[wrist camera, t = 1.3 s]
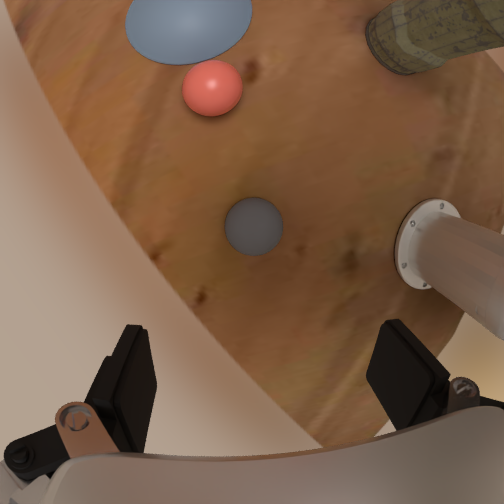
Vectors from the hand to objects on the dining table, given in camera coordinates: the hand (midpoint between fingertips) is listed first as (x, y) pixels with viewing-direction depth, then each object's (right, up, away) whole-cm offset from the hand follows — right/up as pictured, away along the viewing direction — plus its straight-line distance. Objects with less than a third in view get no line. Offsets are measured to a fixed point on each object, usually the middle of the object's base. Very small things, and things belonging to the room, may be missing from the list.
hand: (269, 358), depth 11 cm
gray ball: (0, +6, +18) cm, 19 cm away
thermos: (+17, +30, +15) cm, 37 cm away
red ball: (-4, +19, +13) cm, 24 cm away
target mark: (-8, +30, +12) cm, 33 cm away
